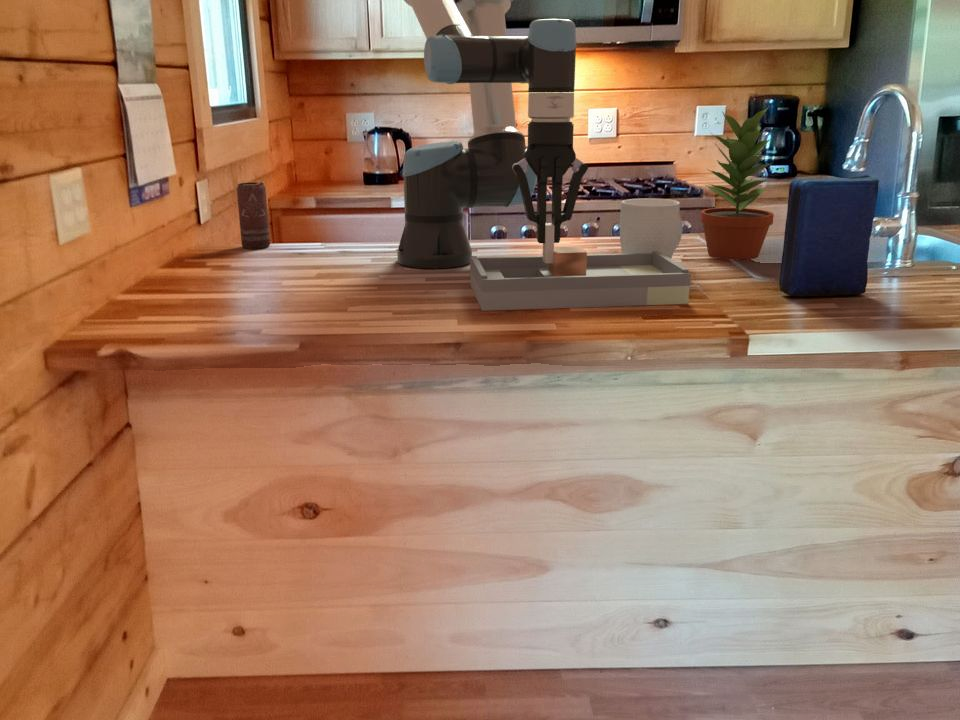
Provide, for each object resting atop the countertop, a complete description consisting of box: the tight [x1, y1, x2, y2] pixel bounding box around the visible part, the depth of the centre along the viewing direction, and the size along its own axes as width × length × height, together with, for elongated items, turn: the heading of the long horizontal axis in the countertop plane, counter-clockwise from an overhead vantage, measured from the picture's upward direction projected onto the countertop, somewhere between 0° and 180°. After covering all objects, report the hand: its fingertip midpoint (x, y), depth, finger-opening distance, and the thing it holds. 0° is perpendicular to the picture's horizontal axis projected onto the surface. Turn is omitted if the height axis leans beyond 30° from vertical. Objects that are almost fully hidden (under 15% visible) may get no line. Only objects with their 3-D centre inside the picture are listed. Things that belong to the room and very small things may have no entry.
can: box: [236, 181, 271, 250], centre depth 187 cm, size 6×6×14 cm
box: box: [469, 251, 692, 312], centre depth 145 cm, size 34×18×6 cm, turn 97°
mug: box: [619, 197, 684, 259], centre depth 163 cm, size 15×11×13 cm
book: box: [778, 174, 880, 297], centre depth 141 cm, size 14×5×20 cm, turn 97°
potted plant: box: [699, 105, 775, 261], centre depth 173 cm, size 15×15×30 cm
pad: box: [620, 265, 691, 306], centre depth 147 cm, size 7×18×3 cm, turn 7°
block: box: [549, 245, 588, 276], centre depth 148 cm, size 6×6×4 cm
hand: (548, 261), depth 147 cm, fingers closed
